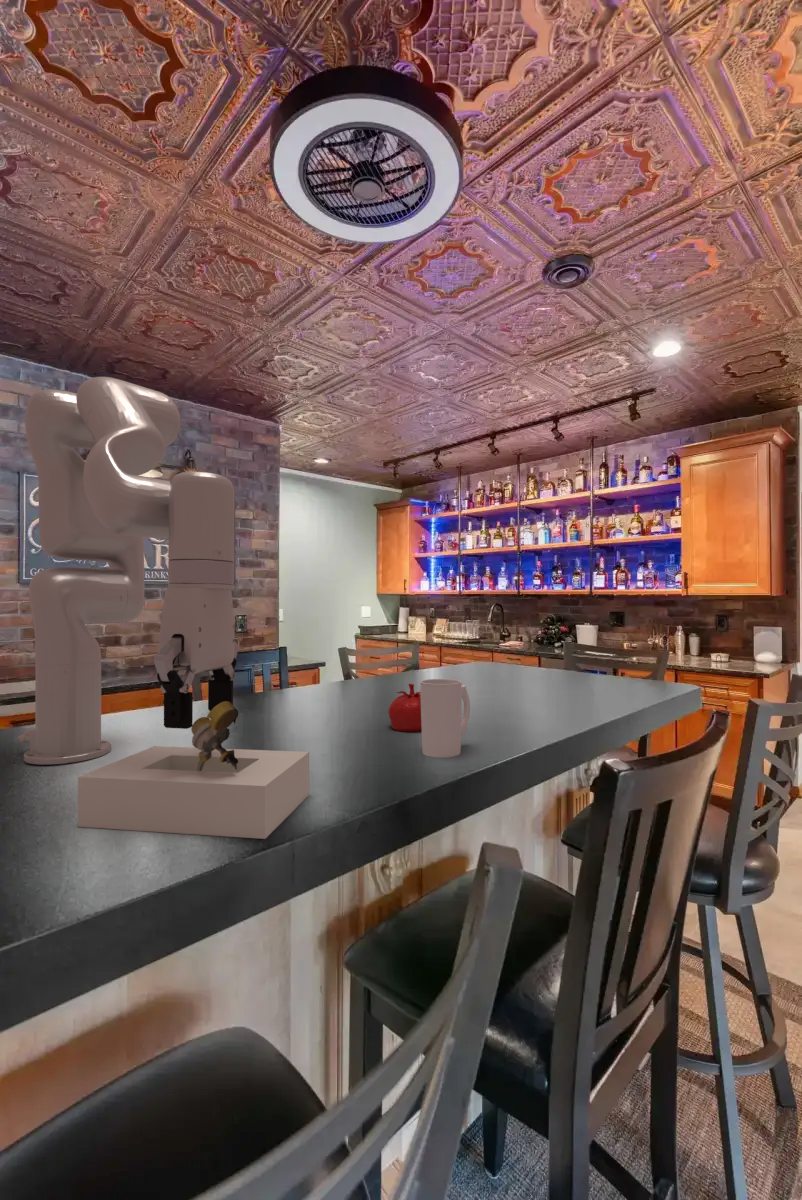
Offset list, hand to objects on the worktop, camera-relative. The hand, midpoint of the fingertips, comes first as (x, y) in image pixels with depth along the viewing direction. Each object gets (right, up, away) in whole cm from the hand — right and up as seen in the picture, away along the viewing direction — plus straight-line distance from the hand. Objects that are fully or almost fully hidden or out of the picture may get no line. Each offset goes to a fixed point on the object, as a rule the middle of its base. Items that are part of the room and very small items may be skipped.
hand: (200, 718), depth 67 cm
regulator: (0, -11, 0) cm, 11 cm away
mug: (+32, -11, +25) cm, 42 cm away
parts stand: (0, -11, 0) cm, 11 cm away
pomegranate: (+27, -12, +42) cm, 51 cm away
